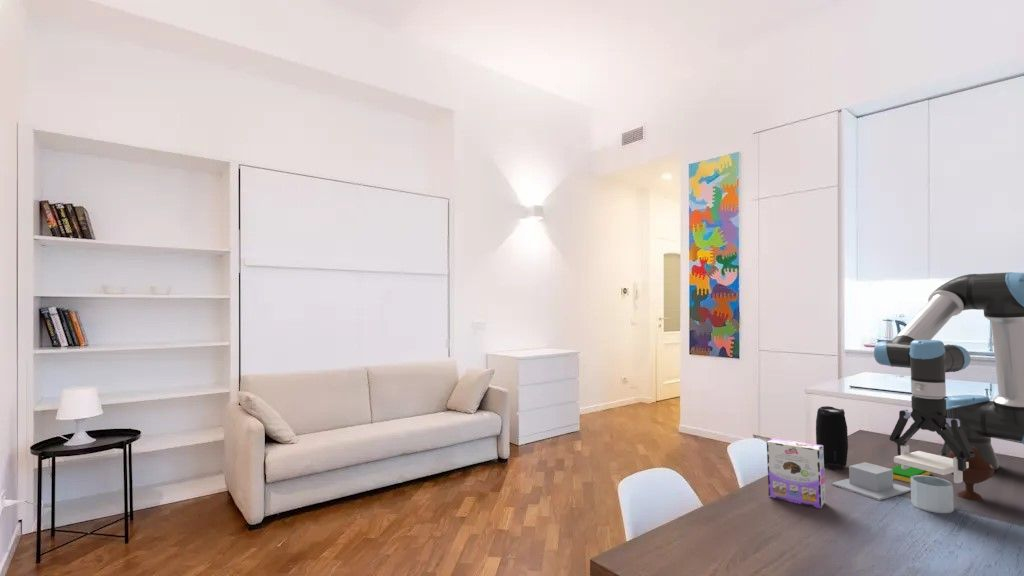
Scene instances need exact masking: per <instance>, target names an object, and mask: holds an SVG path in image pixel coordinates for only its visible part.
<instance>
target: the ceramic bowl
mask: <svg viewBox="0 0 1024 576" xmlns="http://www.w3.org/2000/svg"><path fill="white" fill-rule="evenodd" d="M910 480H911V483H910V488H911V491H910V502H911V505H912V506H913V507H915V508H917V509H920V510H922V511H926V512H929V513H935V514H951V513H953V512H954V507H955V506H954V485H953V482H951V481H950V480H947V479H945V478H941V477H936V476H932V475H931V476H930V475H928V476H925V475H915V476H911V477H910Z"/></svg>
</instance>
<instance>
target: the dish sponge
mask: <svg viewBox="0 0 1024 576" xmlns="http://www.w3.org/2000/svg"><path fill="white" fill-rule="evenodd" d="M890 469H893V480H897V481H901V482H906V483H909V484H911V480H910V477H911V476H915V475H925V476H930V475H931V472H930V471H926V470H922V469H918V468H914V467H910V468H907V469H901V464H899V465H896V466H893V467H891V468H890Z"/></svg>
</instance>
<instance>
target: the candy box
mask: <svg viewBox="0 0 1024 576" xmlns="http://www.w3.org/2000/svg"><path fill="white" fill-rule="evenodd" d="M766 451H767V452H766V457H767V458H766V459H767V464H766V465H767V486H768V493H767V494H768V495H767V496H770V497H773V498H772V499H774V498H777V499H776V500H780V499H781V500H780V501H784V500H786V501H785V502H788V501H789V502H790V503H793V502H794V504H797V503H798V504H797V505H802V504H803V506H806V505H807V507H811V506H812V508H815V507H816V508H817V509H822V508H823V507H824V505H825V504H826V482H825V481H826V480H825V465H824V450H823V445H816V443H809V442H808V443H807V442H802V441H795V440H789V439H783V438H782V439H781V438H775V437H772V438H770V439H769V440H768V441H766ZM770 497H769V498H770Z"/></svg>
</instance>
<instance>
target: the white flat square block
mask: <svg viewBox="0 0 1024 576" xmlns="http://www.w3.org/2000/svg"><path fill="white" fill-rule="evenodd" d="M893 463H895V464H899V465H901V464H903V465H906V466H910V467H914V468H918V469H922V470H926V471H930V473H934V474H938V475H941V476H946V475H949V474H951V473H953V472H954V468H953V459H952V458H948V457H943V456H940V454H934V453H929V452H926V451H922V450H916V451H913V452H909V453H908V454H903V455H896V456H893ZM967 468H969V462H966V469H967Z"/></svg>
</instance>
